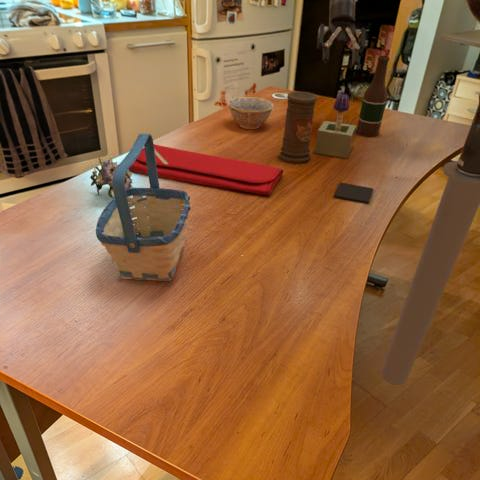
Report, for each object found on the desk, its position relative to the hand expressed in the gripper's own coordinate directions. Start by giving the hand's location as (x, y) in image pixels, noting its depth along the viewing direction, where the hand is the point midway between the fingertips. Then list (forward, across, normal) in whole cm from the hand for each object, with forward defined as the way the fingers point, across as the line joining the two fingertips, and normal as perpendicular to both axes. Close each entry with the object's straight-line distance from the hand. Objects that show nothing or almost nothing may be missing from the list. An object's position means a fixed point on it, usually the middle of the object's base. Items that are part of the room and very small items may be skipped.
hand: (340, 63), depth 139 cm
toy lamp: (+23, +1, +9) cm, 25 cm away
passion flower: (+47, -64, -18) cm, 81 cm away
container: (+28, -12, +3) cm, 31 cm away
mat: (+43, 0, -16) cm, 46 cm away
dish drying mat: (+37, -40, -7) cm, 55 cm away
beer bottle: (+12, +17, +22) cm, 30 cm away
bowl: (+11, -24, +26) cm, 37 cm away
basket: (+66, -52, -43) cm, 94 cm away
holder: (+23, +1, +9) cm, 25 cm away
